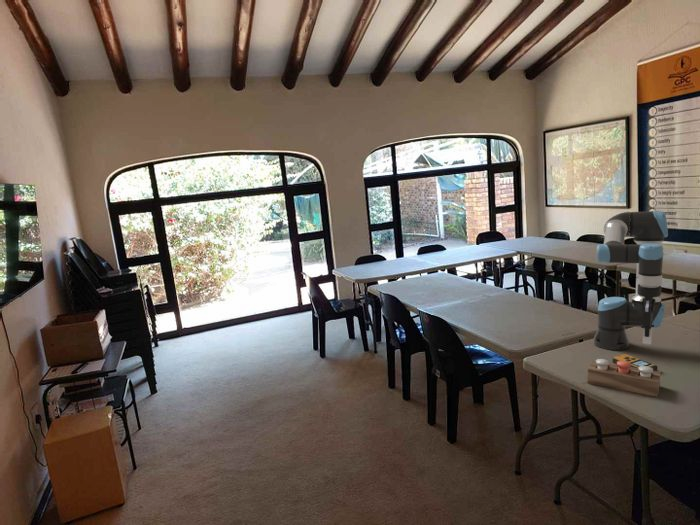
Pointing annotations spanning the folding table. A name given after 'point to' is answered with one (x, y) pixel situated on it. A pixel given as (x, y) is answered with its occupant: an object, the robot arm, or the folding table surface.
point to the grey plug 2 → (645, 371)
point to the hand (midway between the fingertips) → (646, 343)
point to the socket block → (624, 379)
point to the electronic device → (633, 361)
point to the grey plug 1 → (602, 364)
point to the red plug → (623, 366)
